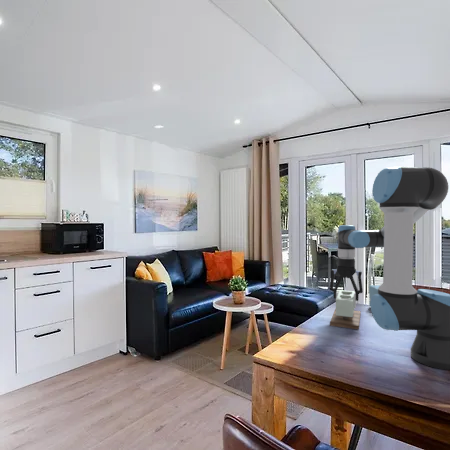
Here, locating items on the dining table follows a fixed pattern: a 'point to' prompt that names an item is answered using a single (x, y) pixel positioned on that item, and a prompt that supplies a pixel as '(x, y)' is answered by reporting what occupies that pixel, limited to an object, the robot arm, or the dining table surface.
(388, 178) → the robot arm
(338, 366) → the dining table surface
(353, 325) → the board
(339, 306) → the two-pocket foam insert
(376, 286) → the radio
